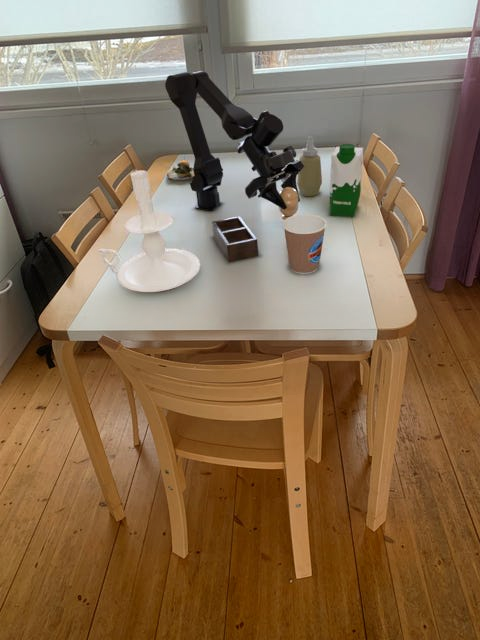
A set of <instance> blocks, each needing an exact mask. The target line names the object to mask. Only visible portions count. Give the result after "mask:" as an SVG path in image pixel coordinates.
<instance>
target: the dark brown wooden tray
mask: <svg viewBox="0 0 480 640" xmlns="http://www.w3.org/2000/svg"><path fill="white" fill-rule="evenodd" d="M211 225H212V235H213V239H214V241H215V243H216V244H217V246H218V247H219V249H220V250H221V252H222V254H223V256H224V257H225V259H226V260H227V262H228V263H234V262H238V261H242V260H243V261H244V260H248V259H251V258H256V257H259V246H258V245H259V242H258V241H259V240H258V238H257V236H256V235H255V234H254V233H253V232H252V230H251V229H250V228H249V226H248V225H247V224H246V222H245V221H244V220H243V218H242V217H241V216H239V215H238V216H232V217H227V218H224V219H219V220H218V219H217V220H212V221H211Z"/></svg>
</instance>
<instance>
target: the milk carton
mask: <svg viewBox="0 0 480 640" xmlns="http://www.w3.org/2000/svg"><path fill="white" fill-rule="evenodd" d="M363 165H364V147H356V146H355V145H354V144H351V143H342V144H340V145H339V146H336V147H335V149H334V150H333V152H332V154H331V160H330V173H329V215H330V216H335V217H348V218H349V217H350V218H353V217H355V214H356V211H357V209H358V205H359V203H360V202H359V201H360V198H361V192H362V181H363Z"/></svg>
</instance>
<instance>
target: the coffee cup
mask: <svg viewBox="0 0 480 640" xmlns="http://www.w3.org/2000/svg"><path fill="white" fill-rule="evenodd" d="M327 224H328V223H327V220H326V219H325V218H323V217H322V216H320V215H318V214H317V215H316V214H312V213H299V214H295V215H294V216H291V217H289V218H287V219H285V220H283V222H282V227H283V230H284V237H285V245H286V252H287V259H288V264H289V268H290V270H291V271H292V272H293V273H296V274H299V275H309V274H312V273H314V272H316V271H317V270H318V269H319V265H320V260H321V255H322V250H323V244H324V237H325V232H326V231H325V230H326V227H327Z"/></svg>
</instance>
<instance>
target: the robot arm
mask: <svg viewBox="0 0 480 640" xmlns="http://www.w3.org/2000/svg"><path fill="white" fill-rule="evenodd" d="M164 86H165V91H166V92H167V95H168V97H169V99H170V102H171V103H172V104H173V105H174V106H175V107H176V108H177V109H178V110H179V112H180V116H181V119H182V122H183V126H184V128H185V131H186V135H187V138H188V141H189V144H190V147H191V150H192V154H193V156H194V163H193V167H192V168H193V170H194V175H195V177H194V178H193V177H192V180H191V181H190V183H189V186H190V188H191V191H192V192H195V196H196V202H197V205H196V206H195V207H194V208H195V209H196V210H203V211H209V212H213V211H214V210H215V209H217V208H218V207H220V206H221V205H222V201H220V192H219V191H218V187H219V186H221V185H222V181H223V177H224V172H223V171H224V169H223V166H222V164H221V159H220V158H219V157H215V156H214V155H213V154H212V153H211V150H210V147H209V144H208V140H207V137H206V133H205V130H204V128H203V124H202V121H201V117H200V114H199V111H198V108H197V105H196V103H197V96H198V95H199V96H200V97H201V99H202V100H203V101H204V102H205V103H206V104H207V105H208V106H209V107H210V109H211V110H212V111H213V112H214V113H215V114H216V115H217V116H218V117H219V119H220V121H221V126H222V129H223V130H224V132H225V133H226V135H227V136H228V137H229V138H230V139H231V140H232V141H238V140H241V139H244V138H245V139H244V140H243V141H240V142H238V147H237V154H242V153H244V154H245V156H246V157H247V158H248V160H249V161H250V163H251V165H252V166H251V169H250V170H252V172H255V171H256V172H257V174H258V176H257V177H255V178H253V179H252V180H251V181H250V182H249V183H248V184H247V185H246V187H244V192H245V195H246V197H247V198H248V199H250V200H251V199H252V198H254V197H256V196H257V197H258V198H262V199H264V200H266V201H268V202H270V203H272V204H274V205H275V206H277V207H278V208H279V207H280V208H282V209H284V210H285V209H286V208H287V206H286V204H285V202H284V200H283V199H282V197H281V196H280V194H279V193H280V191H278V189H277V188H278V187H277V182H279V181H281V182H282V183H281V184H280V188H282V189H283V188H285V187H292V188H294V189H295V190H296V191H297V193H298V203H300V202H301V198H300V194H299V189H298V185H297V178H298V173H299V172H300V171H301V170H302V169H303V168H304V165H303V164H302V162H301V161H299V160H300V159H295V158H296V157H297V152H296V149H295V148H294V147H293V145H289V146H286V147H283V149H282V153H279V154H277V152H276V151H274V150H272V151H270V149H269V147H270V146H271V145H272V144H273V143H274V142H275V140H277V138H279V136H280V135H281V133H282V132H283V131H284V123H283V121H282V119H281V118H279V117H278V116H277V115H274V114H273V113H270V112H269V110H265V111H262V112H261V113H260V114H259V116H258V118H255V117H254V116H253V115H252V114H251V113H250V112H248V111H247V110H246V109H245V108H243V107H240V106H237V105H235V104H234V103H233V102H232V101H231V100H230V99H229V97H227V96H226V94H224V92H222V90H221V89H220V88H219V87H218V85H216V84H215V82H213V80H212V79H211V78H210V76H209V74H208V72H206V71H204V70H199V71H196V72H191V73H190V72H189V71H183V72H179V73H178V72H177V73H173V74H169V75H168V76H167V77H166V80H165V82H164ZM258 192H259V194H258Z"/></svg>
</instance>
